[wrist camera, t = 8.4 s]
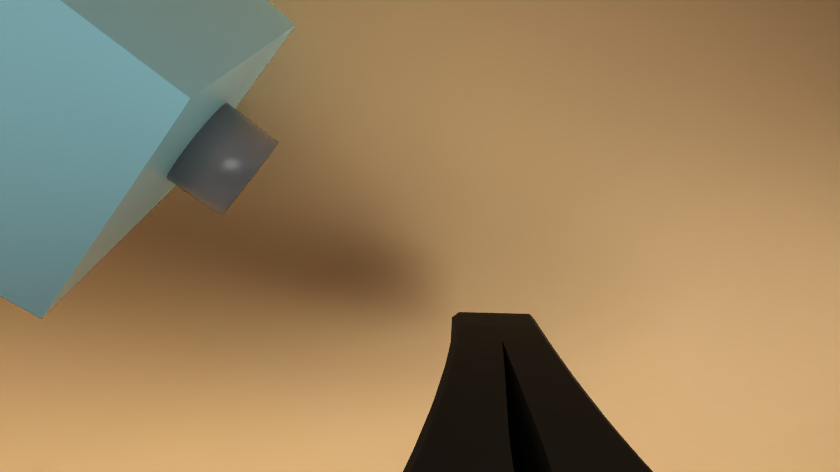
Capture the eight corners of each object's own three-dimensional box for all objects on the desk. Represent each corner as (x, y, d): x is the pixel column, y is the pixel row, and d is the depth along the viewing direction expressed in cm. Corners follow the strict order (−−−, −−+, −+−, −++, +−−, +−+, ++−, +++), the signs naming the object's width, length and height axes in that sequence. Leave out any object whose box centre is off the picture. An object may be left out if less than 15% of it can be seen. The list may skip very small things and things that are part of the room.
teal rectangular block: (340, 61, 9) (270, 160, 5) (231, 198, 10) (112, 357, 7) (-81, -303, 7) (-737, -600, 3) (-150, -71, 8) (-669, -73, 4)
